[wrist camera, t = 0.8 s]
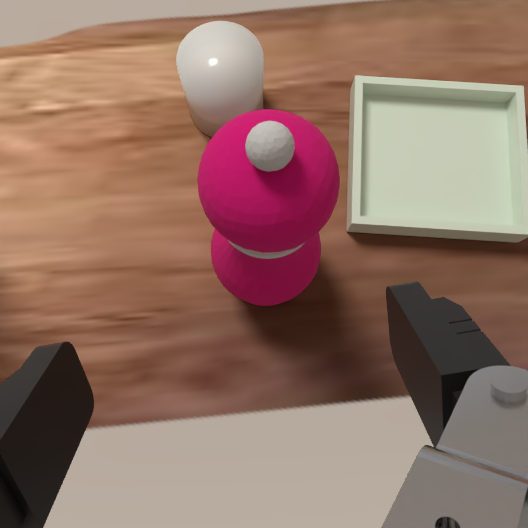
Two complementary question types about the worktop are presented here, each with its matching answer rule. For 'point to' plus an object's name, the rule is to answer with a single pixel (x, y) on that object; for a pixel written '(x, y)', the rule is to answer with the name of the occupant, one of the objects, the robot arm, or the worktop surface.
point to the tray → (437, 159)
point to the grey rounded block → (220, 73)
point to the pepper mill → (267, 203)
